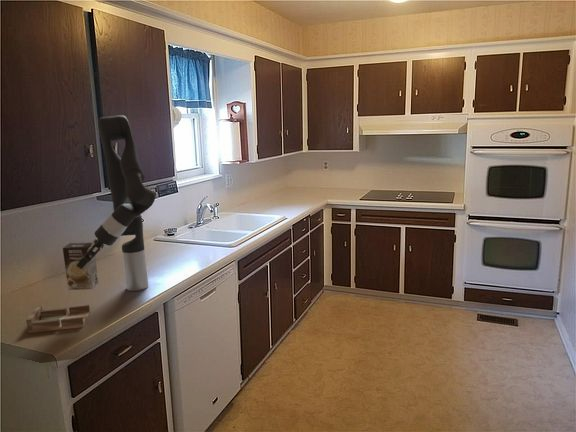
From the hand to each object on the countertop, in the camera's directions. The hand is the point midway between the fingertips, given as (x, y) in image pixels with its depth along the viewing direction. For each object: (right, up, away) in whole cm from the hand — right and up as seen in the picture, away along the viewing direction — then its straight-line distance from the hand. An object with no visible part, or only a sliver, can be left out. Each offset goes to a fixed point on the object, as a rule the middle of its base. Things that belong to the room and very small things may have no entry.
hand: (81, 263), depth 159 cm
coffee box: (0, -9, +2) cm, 9 cm away
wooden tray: (-9, -22, +3) cm, 24 cm away
